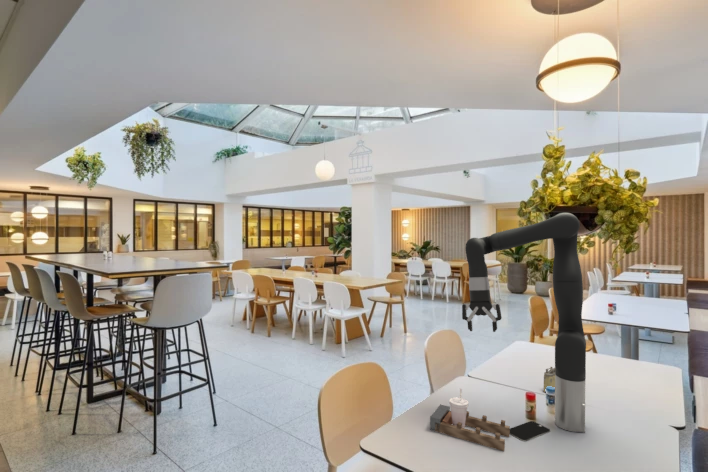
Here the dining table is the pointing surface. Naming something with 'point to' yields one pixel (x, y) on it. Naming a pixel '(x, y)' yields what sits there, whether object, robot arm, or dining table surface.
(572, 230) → the robot arm
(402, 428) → the dining table surface
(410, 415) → the dining table surface
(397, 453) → the dining table surface
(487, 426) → the brown pegged rack
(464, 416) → the smoothie
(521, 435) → the smartphone
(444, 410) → the block
